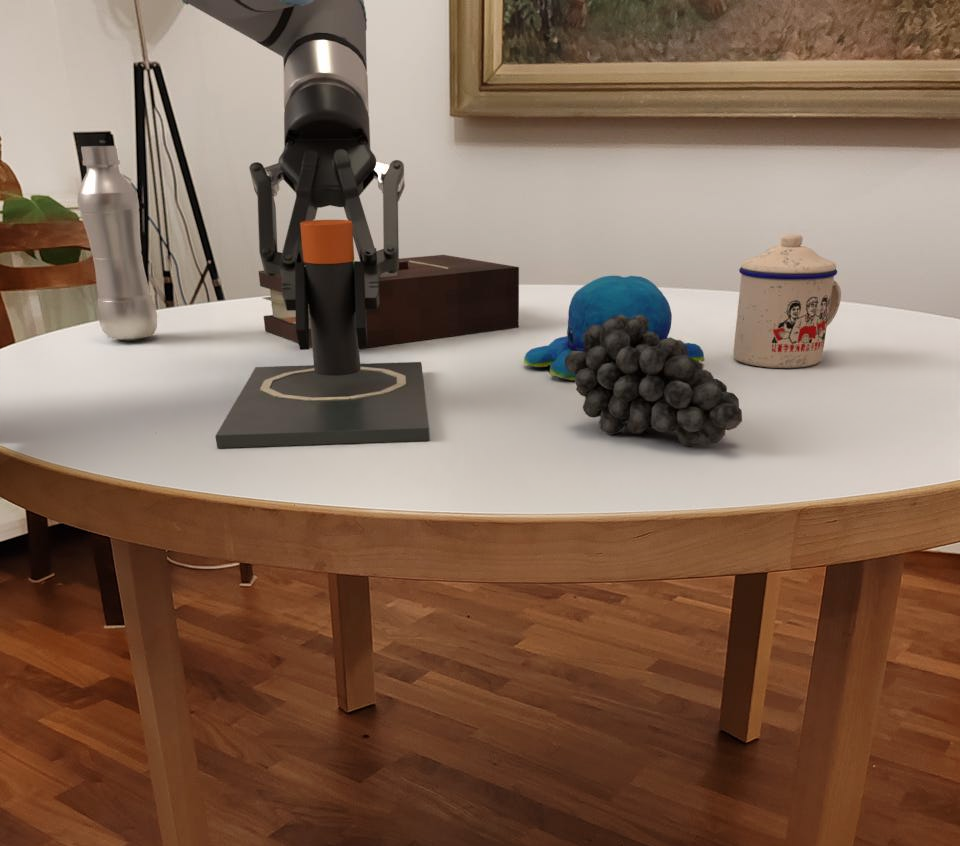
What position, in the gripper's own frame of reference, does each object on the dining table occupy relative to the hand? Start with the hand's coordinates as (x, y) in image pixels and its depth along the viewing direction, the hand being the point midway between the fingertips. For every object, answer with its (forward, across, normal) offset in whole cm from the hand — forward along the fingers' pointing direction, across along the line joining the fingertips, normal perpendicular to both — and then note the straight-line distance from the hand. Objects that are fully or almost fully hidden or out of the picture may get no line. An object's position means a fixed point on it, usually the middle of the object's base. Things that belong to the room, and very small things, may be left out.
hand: (332, 338), depth 81 cm
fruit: (+12, -24, +4) cm, 28 cm away
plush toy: (-5, -26, -14) cm, 30 cm away
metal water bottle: (-21, +26, -30) cm, 44 cm away
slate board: (+3, +1, -5) cm, 6 cm away
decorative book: (-22, -4, -31) cm, 38 cm away
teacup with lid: (-6, -44, -15) cm, 47 cm away
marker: (0, 0, -5) cm, 5 cm away
